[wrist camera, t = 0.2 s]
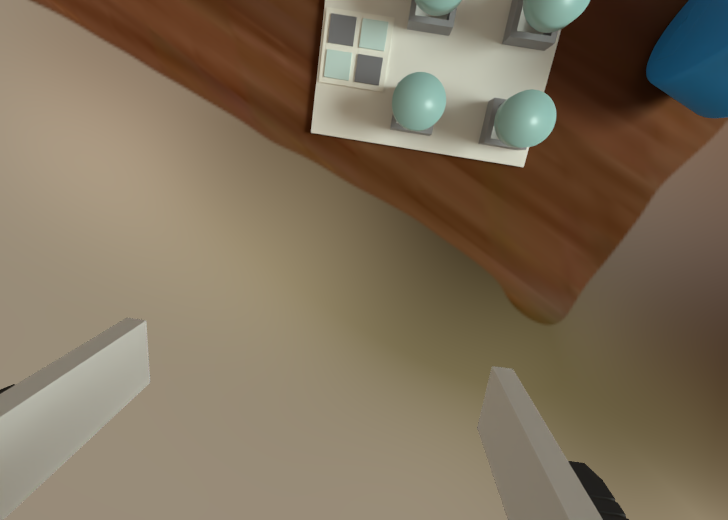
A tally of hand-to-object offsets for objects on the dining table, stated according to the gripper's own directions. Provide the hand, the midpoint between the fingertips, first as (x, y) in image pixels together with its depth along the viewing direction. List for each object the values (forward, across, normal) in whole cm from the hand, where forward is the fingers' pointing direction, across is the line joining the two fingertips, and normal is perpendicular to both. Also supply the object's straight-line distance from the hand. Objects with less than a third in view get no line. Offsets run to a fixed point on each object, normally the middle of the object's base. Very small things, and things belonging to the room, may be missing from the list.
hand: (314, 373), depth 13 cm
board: (+28, +5, +17) cm, 33 cm away
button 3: (+24, +13, +21) cm, 35 cm away
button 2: (+24, +4, +13) cm, 28 cm away
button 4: (+24, +13, +12) cm, 30 cm away
